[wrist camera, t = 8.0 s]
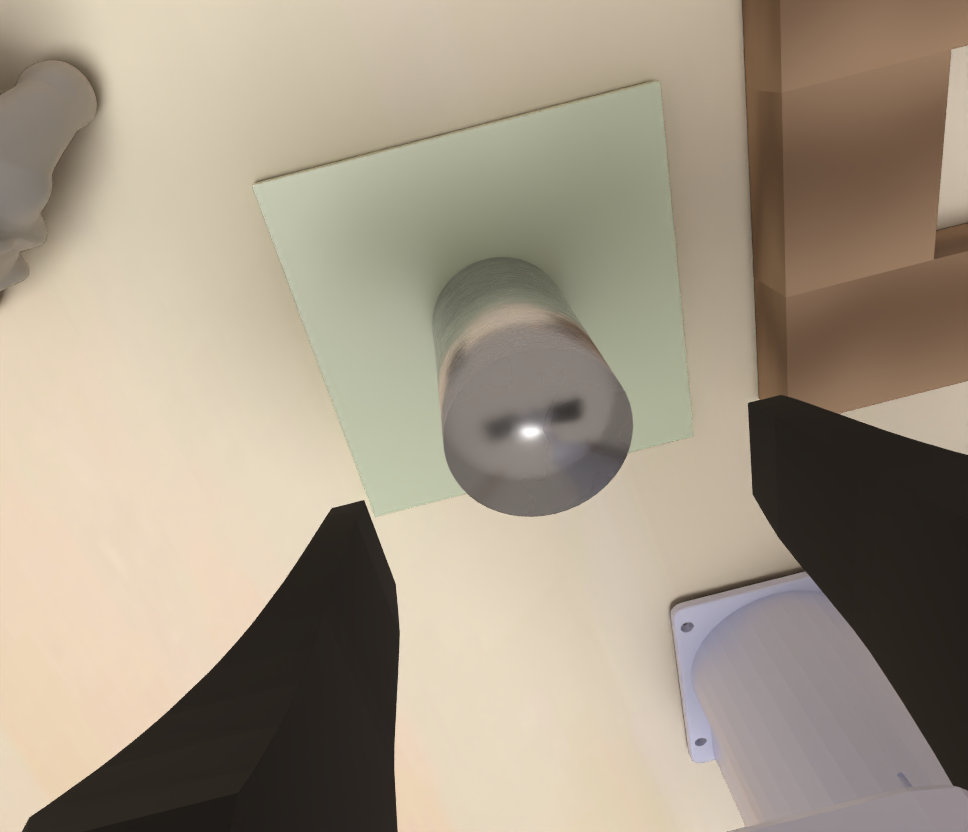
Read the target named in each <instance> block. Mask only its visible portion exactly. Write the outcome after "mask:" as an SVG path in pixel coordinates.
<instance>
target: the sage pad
mask: <svg viewBox="0 0 968 832" xmlns="http://www.w3.org/2000/svg"><path fill="white" fill-rule="evenodd" d="M252 187H253V190H254V193H255V195H256V198H257V201H258V203H259V206H260V209H261V212H262V214H263V217H264V220H265V222H266V225H267V228H268V230H269V233H270V236H271V238H272V241H273V244H274V247H275V249H276V252H277V255H278V257H279V260H280V263H281V265H282V268H283V271H284V273H285V276H286V279H287V281H288V284H289V287H290V290H291V292H292V295H293V298H294V300H295V303H296V306H297V308H298V311H299V314H300V316H301V319H302V322H303V325H304V327H305V330H306V333H307V335H308V338H309V341H310V343H311V346H312V349H313V351H314V354H315V357H316V359H317V362H318V365H319V368H320V370H321V373H322V376H323V378H324V381H325V384H326V386H327V389H328V392H329V394H330V397H331V400H332V403H333V405H334V408H335V411H336V413H337V416H338V419H339V421H340V424H341V427H342V429H343V432H344V435H345V437H346V440H347V443H348V446H349V448H350V451H351V454H352V456H353V459H354V462H355V464H356V467H357V470H358V472H359V475H360V478H361V481H362V483H363V486H364V489H365V491H366V494H367V497H368V499H369V502H370V505H371V507H372V510H373V513H374V516H375V517H377V516H381V515H385V514H389V513H393V512H397V511H401V510H405V509H409V508H413V507H417V506H421V505H425V504H429V503H432V502H436V501H440V500H444V499H448V498H452V497H456V496H460V495H464V494H467V493H466V492H465V491H464V490H463V489H462V488H461V487H460V485H459V484H458V483H457V481H456V480H455V478H454V477H453V475H452V473H451V471H450V469H449V467H448V464H447V461H446V457H445V453H444V445H443V435H442V424H441V413H440V403H439V392H438V381H437V371H436V360H435V349H434V339H433V326H432V321H433V313H434V308H435V305H436V302H437V299H438V297H439V295H440V293H441V291H442V290H443V288H444V287H445V285H446V284H447V283H448V282H449V281H450V279H451V278H452V277H453V276H454V275H456V274H457V273H458V272H459V271H461V270H462V269H464V268H465V267H467V266H469V265H471V264H473V263H475V262H478V261H481V260H484V259H488V258H494V257H510V258H516V259H521V260H524V261H526V262H529V263H531V264H533V265H535V266H537V267H538V268H540V269H541V270H543V271H544V272H545V273H546V274H547V275H548V276H549V277H550V278H551V279H552V280H553V281H554V283H555V284H556V285H557V287H558V288H559V290H560V292H561V293H562V295H563V296H564V298H565V299H566V301H567V302H568V304H569V305H570V307H571V308H572V310H573V312H574V313H575V315H576V316H577V318H578V319H579V321H580V322H581V324H582V325H583V327H584V328H585V330H586V332H587V333H588V335H589V336H590V338H591V339H592V341H593V342H594V344H595V345H596V347H597V348H598V350H599V352H600V353H601V355H602V356H603V358H604V359H605V361H606V362H607V364H608V365H609V367H610V368H611V370H612V372H613V373H614V375H615V376H616V378H617V379H618V381H619V382H620V384H621V386H622V387H623V389H624V391H625V392H626V395H627V397H628V400H629V402H630V406H631V410H632V415H633V434H632V440H631V444H630V448H629V451H628V453H630V452H634V451H638V450H642V449H646V448H650V447H654V446H657V445H661V444H665V443H669V442H673V441H677V440H681V439H685V438H689V437H693V436H694V433H693V423H692V412H691V402H690V391H689V381H688V370H687V360H686V349H685V339H684V328H683V317H682V307H681V296H680V286H679V275H678V265H677V254H676V244H675V233H674V223H673V212H672V202H671V191H670V181H669V170H668V160H667V149H666V138H665V128H664V117H663V107H662V96H661V86H660V81H655V80H653V81H649V82H646V83H642V84H638V85H634V86H630V87H626V88H622V89H618V90H614V91H611V92H607V93H603V94H599V95H595V96H591V97H587V98H583V99H579V100H575V101H572V102H568V103H564V104H560V105H556V106H552V107H548V108H544V109H540V110H536V111H533V112H529V113H525V114H521V115H517V116H513V117H509V118H505V119H501V120H497V121H494V122H490V123H486V124H482V125H478V126H474V127H470V128H466V129H462V130H458V131H455V132H451V133H447V134H443V135H439V136H435V137H431V138H427V139H423V140H419V141H416V142H412V143H408V144H404V145H400V146H396V147H392V148H388V149H384V150H381V151H377V152H373V153H369V154H365V155H361V156H357V157H353V158H349V159H345V160H342V161H338V162H334V163H330V164H326V165H322V166H318V167H314V168H310V169H306V170H303V171H299V172H295V173H291V174H287V175H283V176H279V177H275V178H271V179H267V180H264V181H260V182H256V183H254V184H253V185H252Z"/></svg>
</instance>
